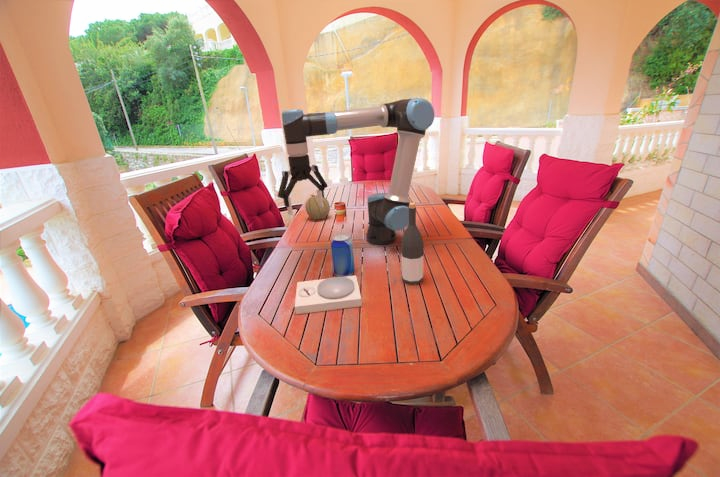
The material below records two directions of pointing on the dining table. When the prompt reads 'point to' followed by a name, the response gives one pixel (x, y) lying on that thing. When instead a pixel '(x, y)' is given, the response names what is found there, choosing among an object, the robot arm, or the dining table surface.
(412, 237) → the wine bottle
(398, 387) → the dining table surface
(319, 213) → the cantaloupe
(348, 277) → the scale
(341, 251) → the beer can
